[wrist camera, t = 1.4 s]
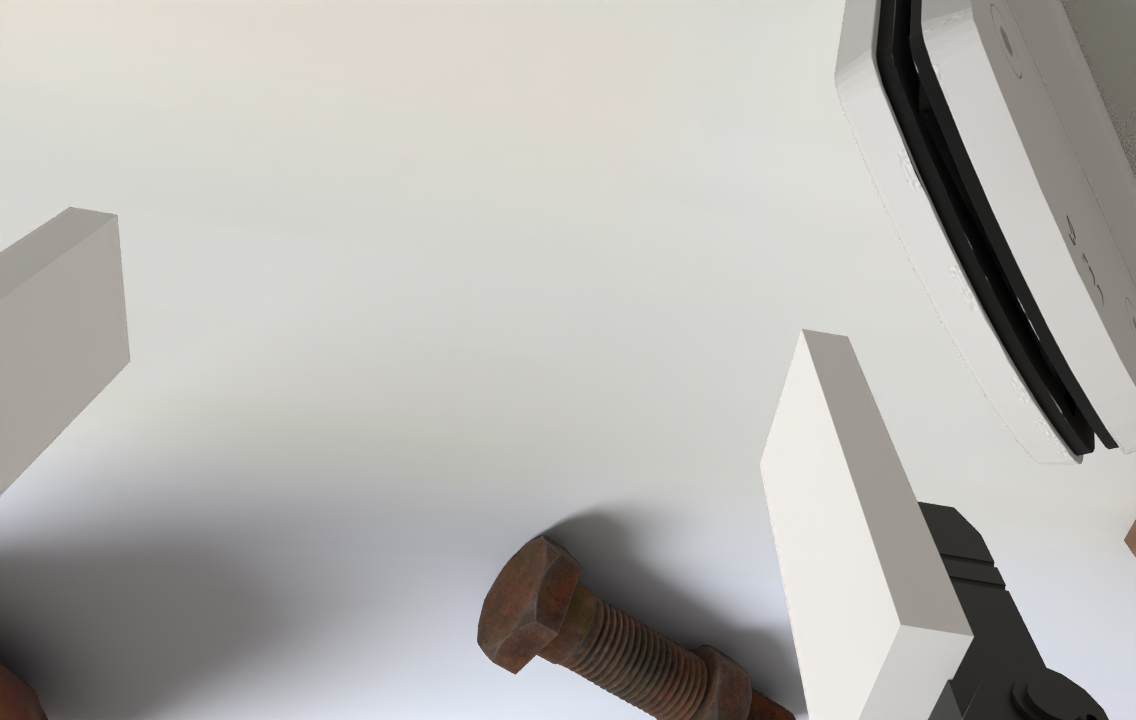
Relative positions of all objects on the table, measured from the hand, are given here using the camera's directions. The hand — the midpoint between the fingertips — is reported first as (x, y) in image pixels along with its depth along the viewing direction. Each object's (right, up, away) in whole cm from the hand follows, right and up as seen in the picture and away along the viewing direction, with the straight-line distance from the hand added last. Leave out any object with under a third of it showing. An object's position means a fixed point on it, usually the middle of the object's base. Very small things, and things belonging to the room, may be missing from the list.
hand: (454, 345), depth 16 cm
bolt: (+6, -13, +28) cm, 31 cm away
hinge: (+16, +6, +16) cm, 24 cm away
